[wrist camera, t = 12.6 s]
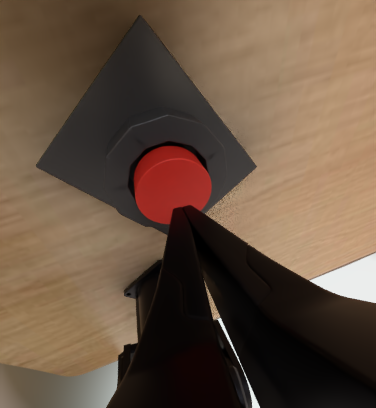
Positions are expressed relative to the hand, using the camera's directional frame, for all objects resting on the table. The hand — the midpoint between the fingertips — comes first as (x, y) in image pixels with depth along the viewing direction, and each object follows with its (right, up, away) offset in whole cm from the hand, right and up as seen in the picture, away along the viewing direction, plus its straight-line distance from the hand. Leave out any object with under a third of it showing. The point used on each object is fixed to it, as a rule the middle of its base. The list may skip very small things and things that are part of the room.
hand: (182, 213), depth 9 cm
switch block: (-2, +4, +5) cm, 6 cm away
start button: (-1, +2, +2) cm, 3 cm away
